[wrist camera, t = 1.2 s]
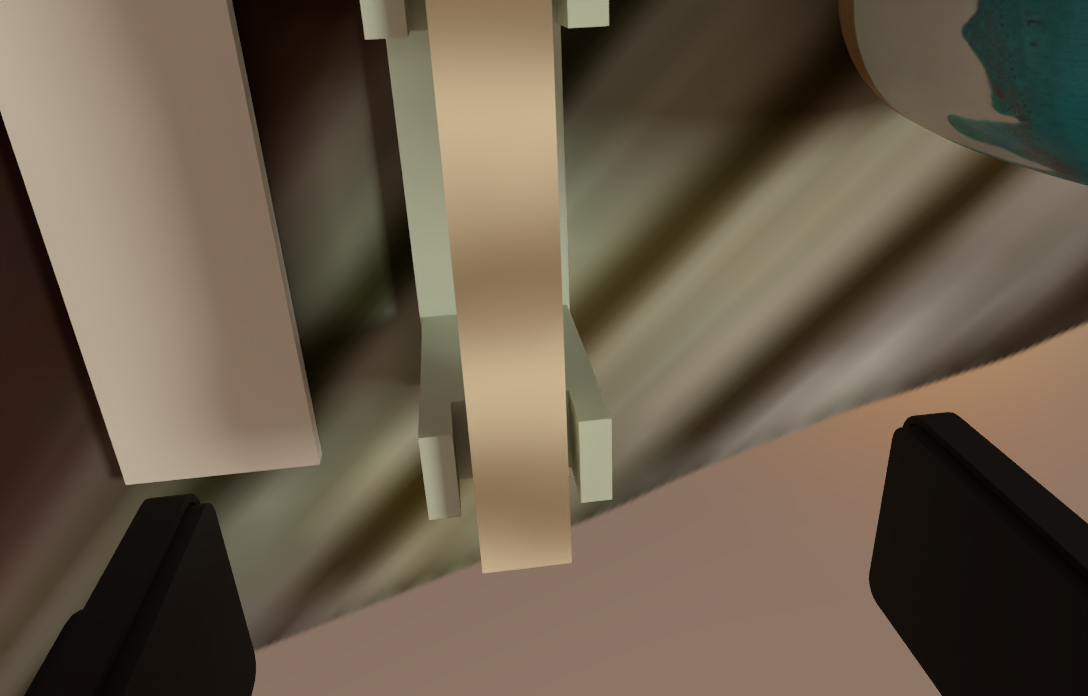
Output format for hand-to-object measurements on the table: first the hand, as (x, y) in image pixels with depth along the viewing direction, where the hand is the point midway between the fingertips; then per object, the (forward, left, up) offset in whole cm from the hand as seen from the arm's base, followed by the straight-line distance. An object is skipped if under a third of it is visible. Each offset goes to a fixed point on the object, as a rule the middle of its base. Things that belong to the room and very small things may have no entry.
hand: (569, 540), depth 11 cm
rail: (0, 0, -14) cm, 14 cm away
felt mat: (0, -12, -22) cm, 25 cm away
